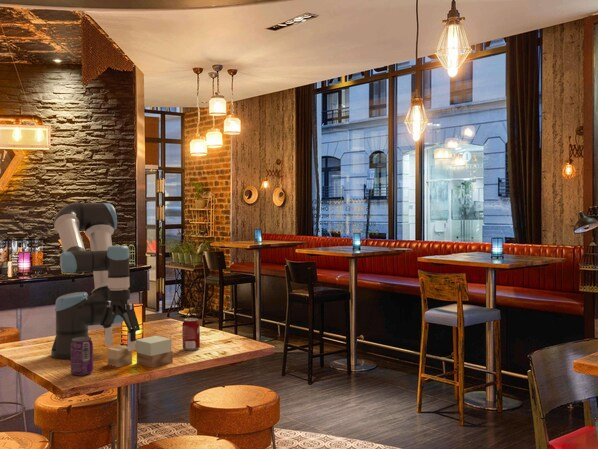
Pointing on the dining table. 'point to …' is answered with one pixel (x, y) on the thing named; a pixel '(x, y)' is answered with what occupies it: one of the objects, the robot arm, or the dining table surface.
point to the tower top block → (153, 345)
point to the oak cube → (119, 356)
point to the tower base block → (155, 359)
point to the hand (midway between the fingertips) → (120, 348)
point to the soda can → (191, 334)
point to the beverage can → (81, 356)
